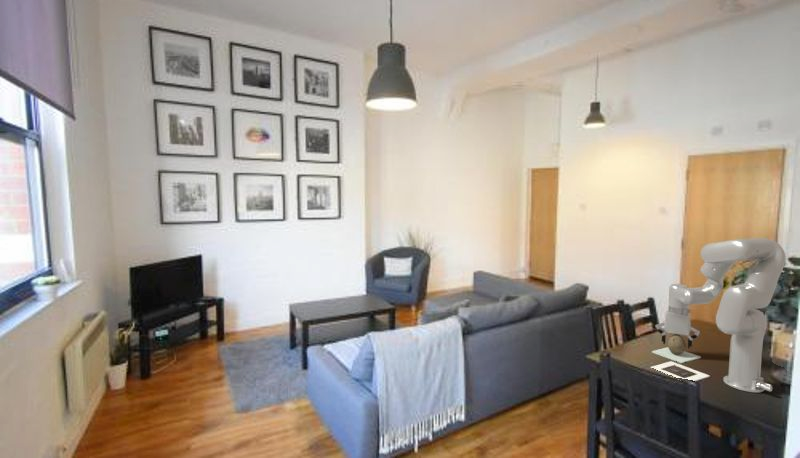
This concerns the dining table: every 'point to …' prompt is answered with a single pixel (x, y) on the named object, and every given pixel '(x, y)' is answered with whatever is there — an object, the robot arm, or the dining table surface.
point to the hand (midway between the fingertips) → (676, 345)
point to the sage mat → (679, 358)
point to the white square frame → (670, 364)
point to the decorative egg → (676, 344)
